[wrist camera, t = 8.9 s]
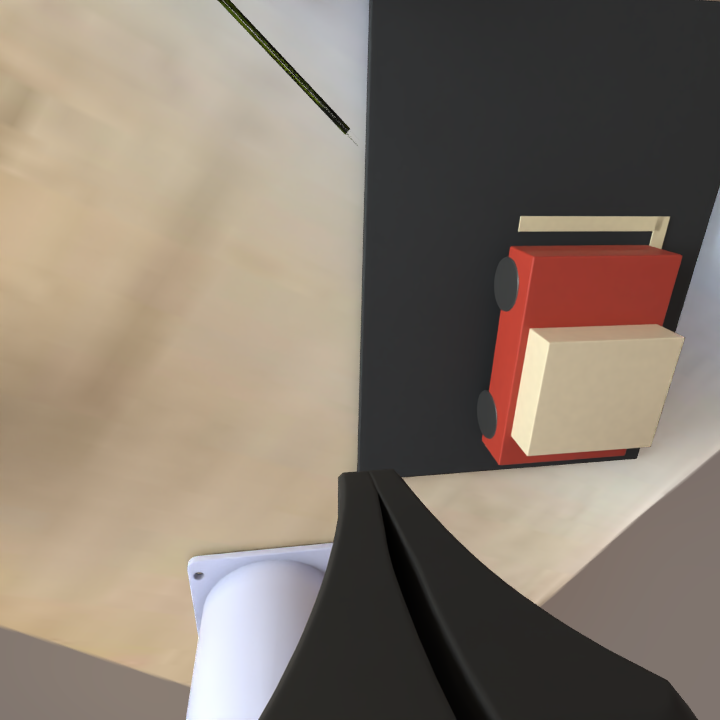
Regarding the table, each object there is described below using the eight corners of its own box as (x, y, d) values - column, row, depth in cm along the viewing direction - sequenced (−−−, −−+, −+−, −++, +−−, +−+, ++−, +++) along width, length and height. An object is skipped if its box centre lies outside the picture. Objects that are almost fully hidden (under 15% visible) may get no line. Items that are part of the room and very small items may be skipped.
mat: (631, 453, 27) (637, 459, 26) (356, 475, 24) (358, 482, 24) (762, 8, 18) (776, 4, 18) (369, -22, 16) (372, -27, 16)
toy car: (473, 430, 24) (589, 422, 25) (512, 488, 20) (649, 476, 21) (499, 241, 20) (634, 240, 21) (553, 266, 16) (717, 264, 17)
